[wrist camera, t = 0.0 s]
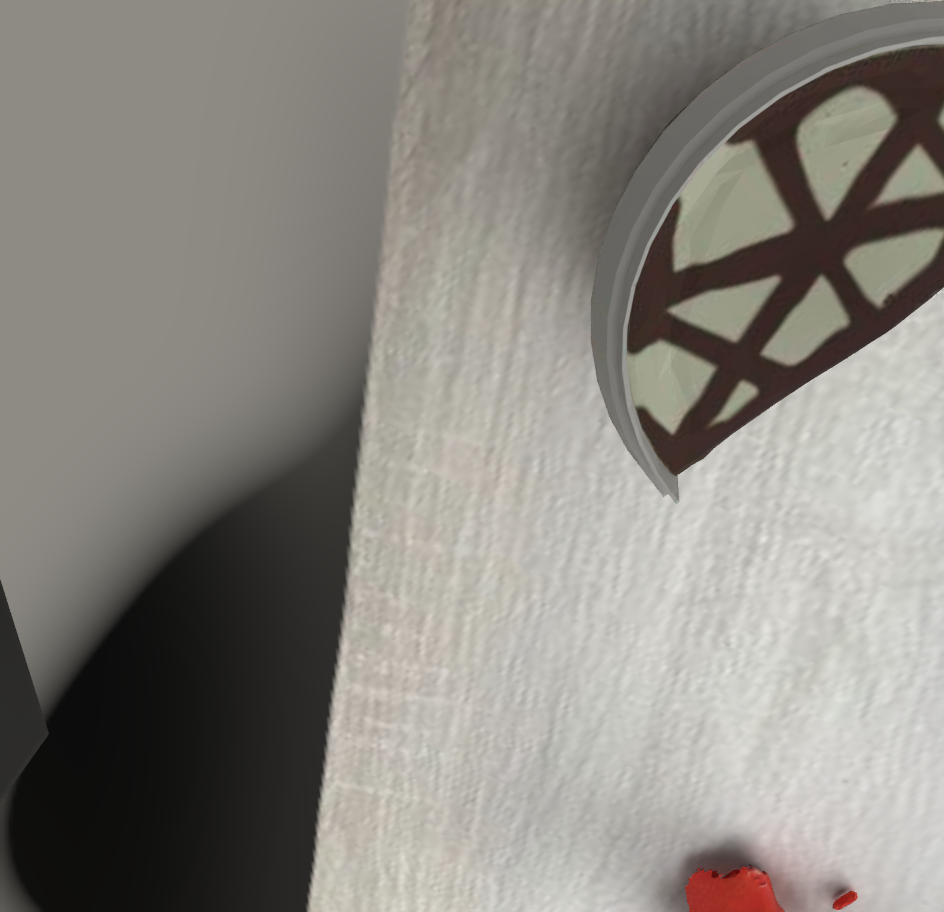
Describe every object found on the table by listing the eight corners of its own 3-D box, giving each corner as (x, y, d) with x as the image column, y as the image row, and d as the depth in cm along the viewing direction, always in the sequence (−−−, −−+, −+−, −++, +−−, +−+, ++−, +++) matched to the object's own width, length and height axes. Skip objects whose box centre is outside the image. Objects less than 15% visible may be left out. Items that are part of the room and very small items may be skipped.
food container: (850, -101, 23) (1041, -185, 14) (976, 88, 25) (1219, 121, 16) (496, 223, 27) (470, 317, 18) (624, 366, 29) (656, 517, 20)
